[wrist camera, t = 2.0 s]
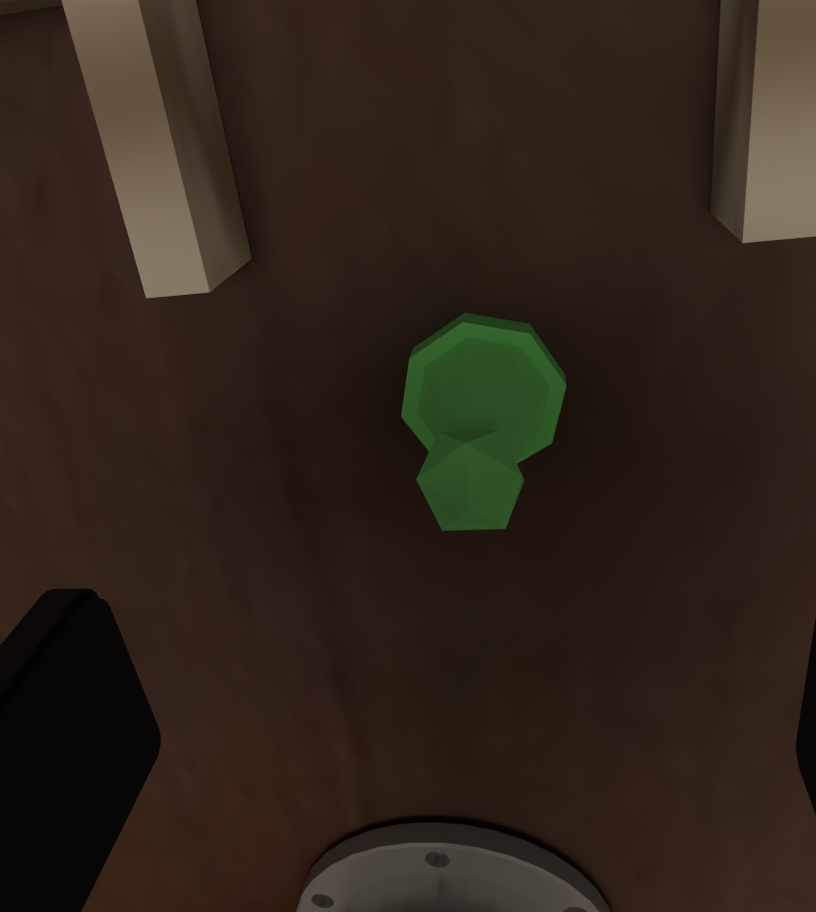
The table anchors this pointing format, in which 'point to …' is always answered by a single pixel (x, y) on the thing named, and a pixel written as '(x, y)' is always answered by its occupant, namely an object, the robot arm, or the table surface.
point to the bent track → (211, 175)
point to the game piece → (480, 415)
